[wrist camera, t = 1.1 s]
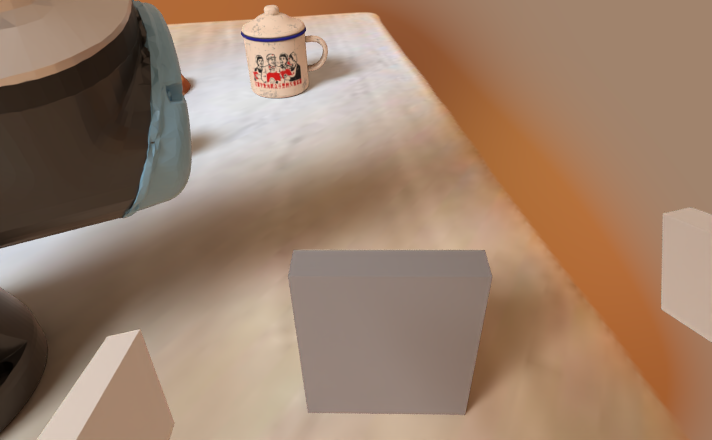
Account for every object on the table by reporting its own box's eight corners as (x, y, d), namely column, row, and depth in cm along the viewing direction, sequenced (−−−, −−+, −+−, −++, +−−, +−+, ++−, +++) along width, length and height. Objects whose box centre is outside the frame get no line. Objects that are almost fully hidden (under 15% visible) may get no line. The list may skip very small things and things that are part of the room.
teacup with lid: (249, 102, 71) (235, 17, 64) (251, 78, 78) (239, 0, 71) (332, 95, 72) (327, 11, 65) (327, 73, 79) (322, -5, 72)
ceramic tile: (465, 414, 31) (492, 276, 24) (307, 412, 32) (288, 276, 24) (460, 383, 33) (484, 247, 26) (311, 382, 33) (293, 246, 26)
